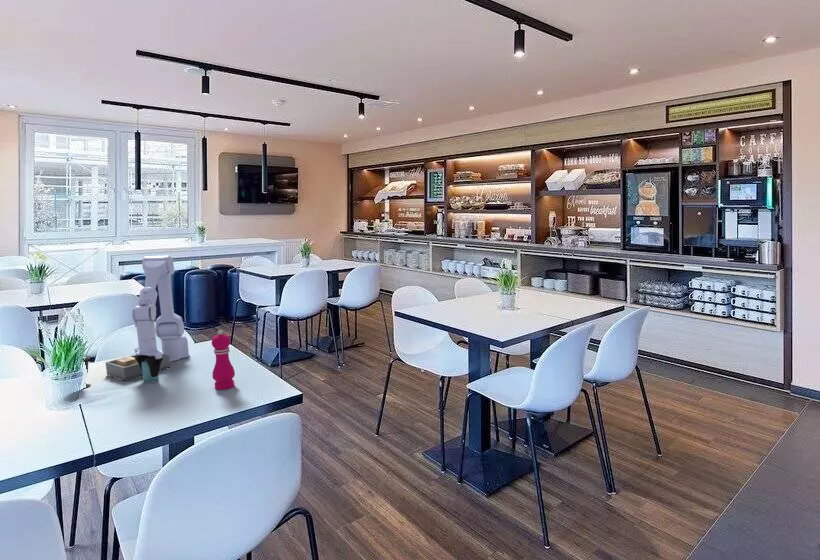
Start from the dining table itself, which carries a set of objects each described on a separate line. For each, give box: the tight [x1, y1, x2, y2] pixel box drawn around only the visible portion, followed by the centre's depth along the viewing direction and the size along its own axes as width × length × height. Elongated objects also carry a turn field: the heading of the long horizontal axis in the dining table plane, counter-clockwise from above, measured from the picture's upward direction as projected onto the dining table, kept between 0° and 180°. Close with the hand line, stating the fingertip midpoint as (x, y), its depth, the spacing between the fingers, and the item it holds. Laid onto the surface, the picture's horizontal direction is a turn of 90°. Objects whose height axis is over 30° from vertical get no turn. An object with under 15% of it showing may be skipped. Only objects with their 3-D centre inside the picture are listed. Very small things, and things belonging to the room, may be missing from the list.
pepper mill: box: [211, 329, 236, 391], centre depth 175 cm, size 7×7×20 cm
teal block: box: [141, 361, 160, 383], centre depth 184 cm, size 5×5×7 cm
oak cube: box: [117, 356, 138, 367], centre depth 191 cm, size 5×5×5 cm
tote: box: [105, 354, 171, 382], centre depth 195 cm, size 17×13×5 cm
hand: (150, 375), depth 184 cm, fingers open, 5 cm apart
